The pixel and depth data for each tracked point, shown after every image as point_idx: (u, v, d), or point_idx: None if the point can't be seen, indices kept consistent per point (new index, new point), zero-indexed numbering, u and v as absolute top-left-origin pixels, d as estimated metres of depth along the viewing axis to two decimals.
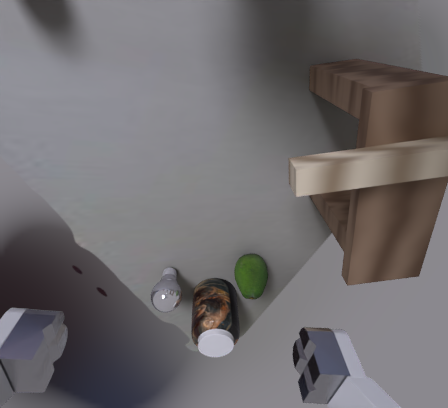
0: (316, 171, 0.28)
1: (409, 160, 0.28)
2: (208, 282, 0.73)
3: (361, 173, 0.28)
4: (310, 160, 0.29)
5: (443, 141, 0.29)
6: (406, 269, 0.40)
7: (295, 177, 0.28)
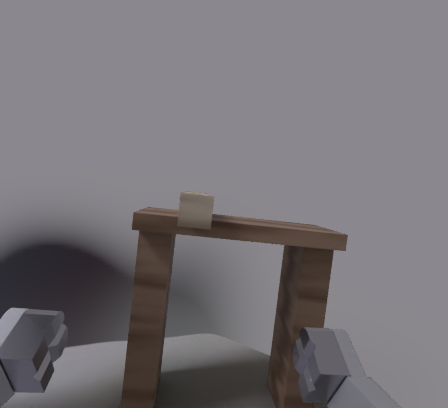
0: None
1: (190, 192, 0.37)
2: None
3: (195, 193, 0.32)
4: None
5: None
6: (309, 225, 0.44)
7: (191, 197, 0.26)
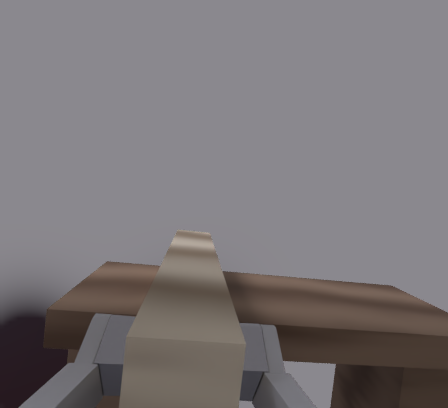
0: (156, 306, 0.09)
1: (178, 249, 0.18)
2: None
3: (188, 270, 0.14)
4: None
5: None
6: (389, 291, 0.25)
7: (163, 350, 0.07)
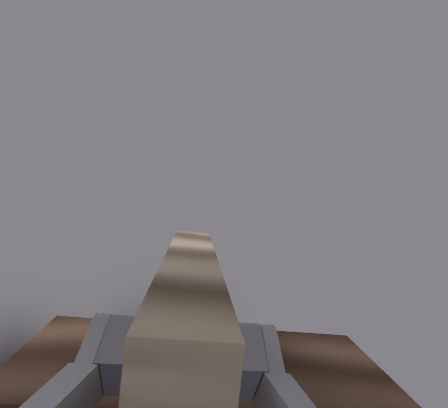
0: (155, 306, 0.09)
1: (177, 250, 0.18)
2: None
3: (187, 271, 0.14)
4: None
5: None
6: (340, 346, 0.25)
7: (163, 350, 0.07)
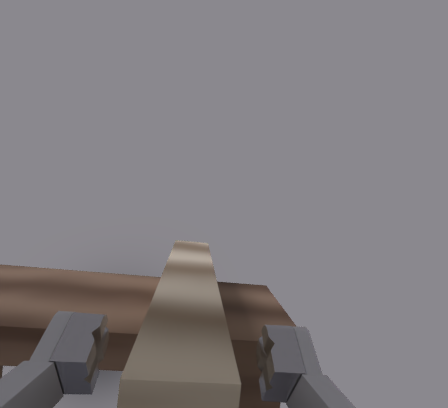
0: (151, 339, 0.09)
1: (176, 265, 0.18)
2: None
3: (185, 291, 0.14)
4: None
5: None
6: (252, 292, 0.24)
7: (158, 392, 0.07)
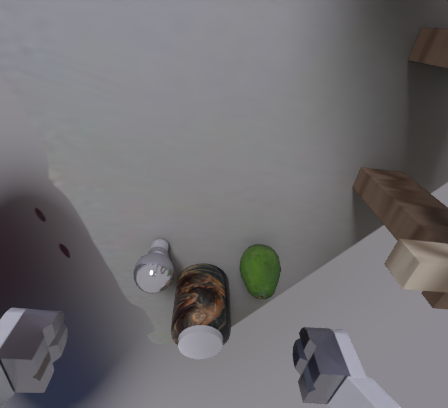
0: (439, 269, 0.23)
1: None
2: (202, 268, 0.60)
3: None
4: (428, 250, 0.24)
5: None
6: None
7: (412, 268, 0.24)
